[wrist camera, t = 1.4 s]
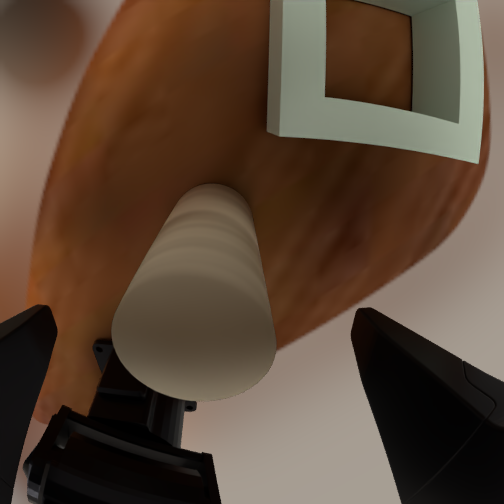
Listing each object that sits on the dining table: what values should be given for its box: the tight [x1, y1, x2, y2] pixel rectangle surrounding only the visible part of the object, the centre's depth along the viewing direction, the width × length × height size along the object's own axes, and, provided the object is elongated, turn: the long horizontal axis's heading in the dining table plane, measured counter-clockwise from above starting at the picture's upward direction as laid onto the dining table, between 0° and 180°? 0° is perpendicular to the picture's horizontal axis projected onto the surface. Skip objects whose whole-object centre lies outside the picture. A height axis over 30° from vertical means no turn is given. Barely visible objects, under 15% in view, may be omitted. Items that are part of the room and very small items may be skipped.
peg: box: [111, 183, 276, 401], centre depth 11 cm, size 4×4×9 cm
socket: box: [267, 0, 484, 164], centre depth 10 cm, size 9×9×4 cm
